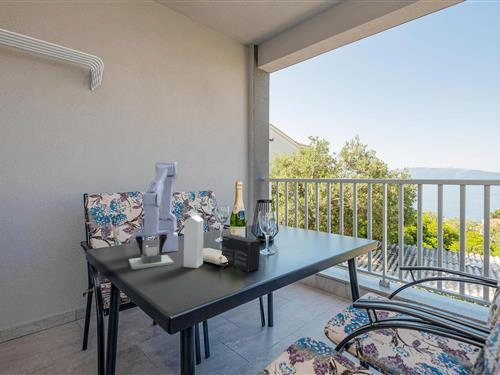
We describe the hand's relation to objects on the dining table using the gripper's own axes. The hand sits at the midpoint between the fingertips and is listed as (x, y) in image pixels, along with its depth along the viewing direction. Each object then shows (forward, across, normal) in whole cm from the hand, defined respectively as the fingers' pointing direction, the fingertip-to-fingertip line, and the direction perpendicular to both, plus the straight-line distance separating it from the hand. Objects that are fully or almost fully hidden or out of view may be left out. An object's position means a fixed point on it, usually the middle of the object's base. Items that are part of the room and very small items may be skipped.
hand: (151, 253), depth 118 cm
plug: (+3, 0, 0) cm, 3 cm away
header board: (+4, 0, 0) cm, 4 cm away
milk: (+4, +15, -11) cm, 19 cm away
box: (+4, +32, -20) cm, 38 cm away
